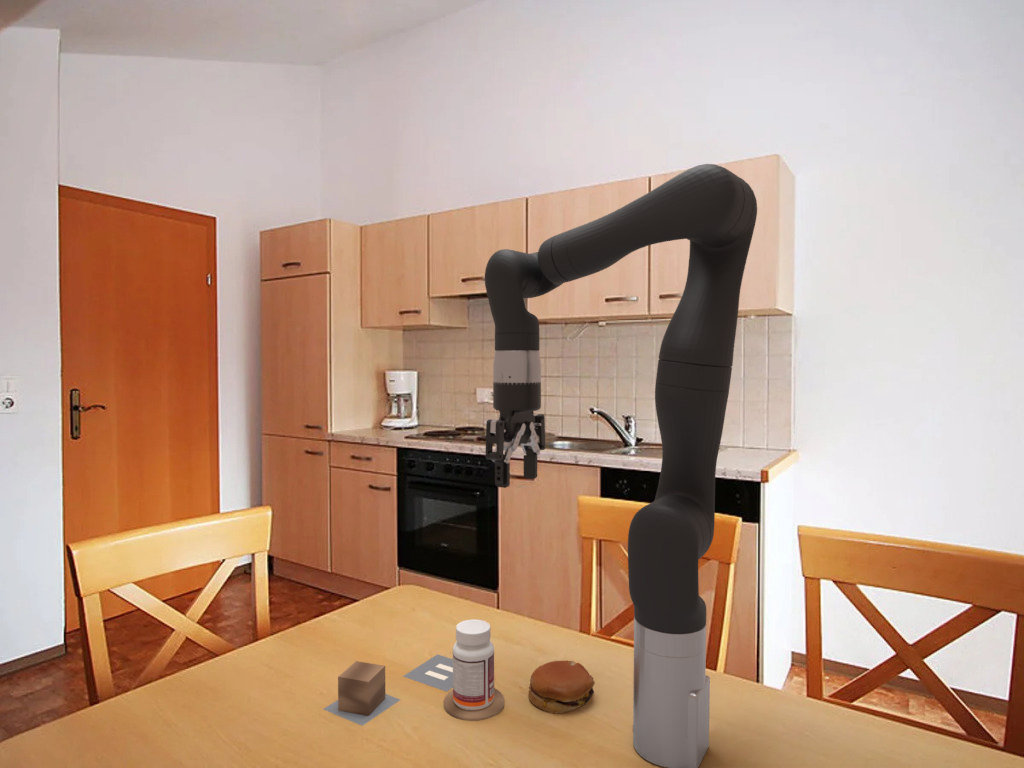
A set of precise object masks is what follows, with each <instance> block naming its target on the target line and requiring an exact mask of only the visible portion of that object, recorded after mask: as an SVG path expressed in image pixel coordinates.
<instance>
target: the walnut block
mask: <svg viewBox="0 0 1024 768" xmlns="http://www.w3.org/2000/svg"><path fill="white" fill-rule="evenodd" d="M385 694H386V665H382V664H378V663H377V664H376V663H370V662H365V661H364V662H363V661H357V660H356V661H354V662H353V663H352V664H351V665H349V666H348V667H347V668H346V669H345V670H344V671H343V672H341V673H340V674H339V675H338V676H337V698H338V699H337V700H338V710H340V711H345V712H350V713H356V714H361V715H367V716H369V715H370V714H371V713H372V712H373V711H374V710H375V709H376V708H377V707H378V706H379V704H380V703H381V702H382V701H383V700H384V699H385Z"/></svg>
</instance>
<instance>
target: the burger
mask: <svg viewBox="0 0 1024 768" xmlns="http://www.w3.org/2000/svg"><path fill="white" fill-rule="evenodd" d="M529 682H530V683H529V687H528V689H529V690H528V699H529V700H530V702H531V703H532V704H533V705H534V707H537V708H539V709H540V710H542V711H545V712H547V713H550V714H564V713H568V712H570V711H573V710H576V709H578V708H580V707H583V706H585V705H586V704H587V703H588V702H589V700H590V699H591V698H592V696H593V695H594V694H595V691H594V689H593V688H594V685H595V681H594V677H593V675H591V674H590V672H589V670H587V669H586V668H585V666H584V665H583V664H581V663H580V662H575V661H574V660H554V661H549V662H546V663H544V664H541V665H539V666H538V667H536V668H535V669H534V671H533V672H532V673H531V675H530V678H529Z"/></svg>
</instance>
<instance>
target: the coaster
mask: <svg viewBox="0 0 1024 768" xmlns="http://www.w3.org/2000/svg"><path fill="white" fill-rule="evenodd" d="M504 706H505V697H504V695H503V693H502V692H501V691H500V690H498V689H497V688H496V687H494V699H493V702H492V703H491V704H490V705H489V706H488V707H486V708H483V709H480V710H464V709H462V708H460V707H458V706H457V705H456V704H455V703H454V700H453V689H452V690H449V691H448V692H447V693H446V695H445V696H444V699H443V708H444V710H445V712H446V713H447V714H448V715H449V716H451V717H453V718H454V719H457V720H461V721H462V720H463V721H466V722H468V721H470V722H471V721H472V722H476V721H484V720H487V719H490V718H493V717H495V716H496V715H498V714H500V713H501V712H502V710H503V709H504Z"/></svg>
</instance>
